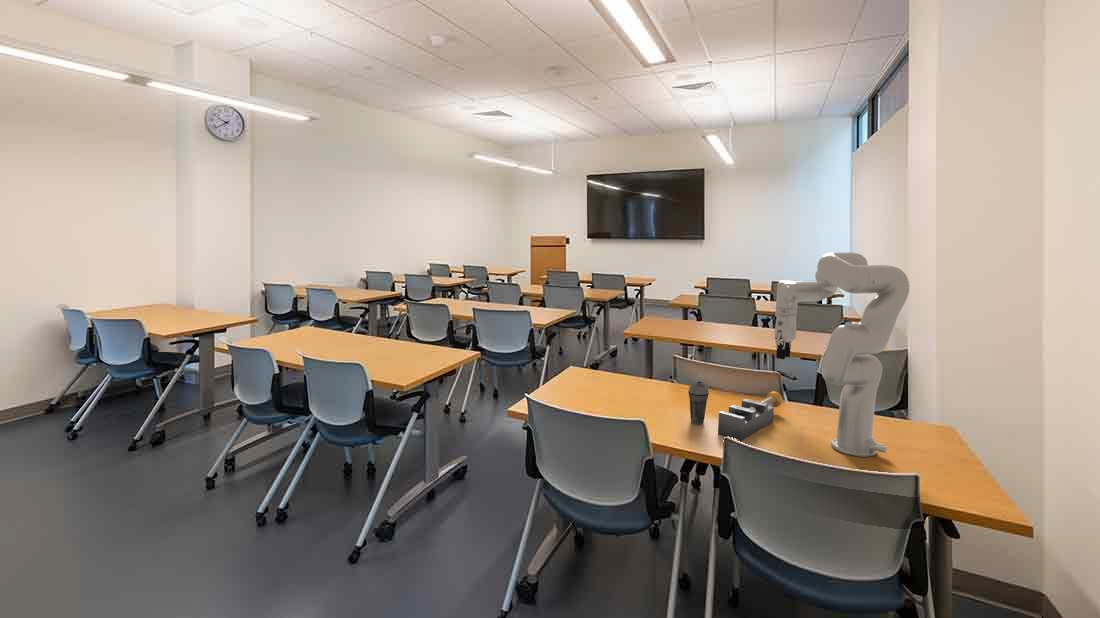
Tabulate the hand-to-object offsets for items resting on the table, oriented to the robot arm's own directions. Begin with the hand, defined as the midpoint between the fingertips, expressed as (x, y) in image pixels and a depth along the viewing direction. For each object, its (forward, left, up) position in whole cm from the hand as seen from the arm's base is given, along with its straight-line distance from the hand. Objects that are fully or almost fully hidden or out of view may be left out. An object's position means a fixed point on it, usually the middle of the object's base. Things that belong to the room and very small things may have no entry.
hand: (783, 357), depth 195 cm
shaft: (0, +18, -19) cm, 26 cm away
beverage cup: (+15, +38, -22) cm, 46 cm away
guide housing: (0, +30, -21) cm, 36 cm away
